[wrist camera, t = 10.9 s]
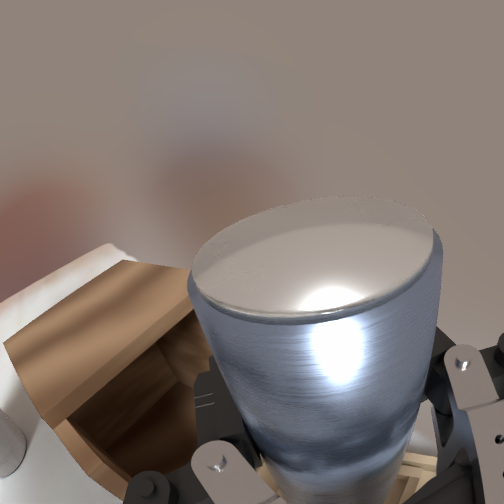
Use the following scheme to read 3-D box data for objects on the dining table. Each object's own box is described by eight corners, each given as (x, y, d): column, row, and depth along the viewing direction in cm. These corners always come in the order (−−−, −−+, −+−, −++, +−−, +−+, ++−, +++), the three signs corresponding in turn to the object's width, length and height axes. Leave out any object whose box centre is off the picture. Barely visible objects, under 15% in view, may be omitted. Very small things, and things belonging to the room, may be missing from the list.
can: (312, 545, 8) (222, 377, 3) (265, 463, 13) (168, 242, 8) (416, 482, 9) (492, 227, 5) (356, 416, 14) (338, 184, 9)
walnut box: (99, 455, 24) (2, 342, 18) (181, 378, 34) (122, 259, 27) (210, 548, 15) (73, 463, 8) (302, 428, 24) (265, 280, 18)
